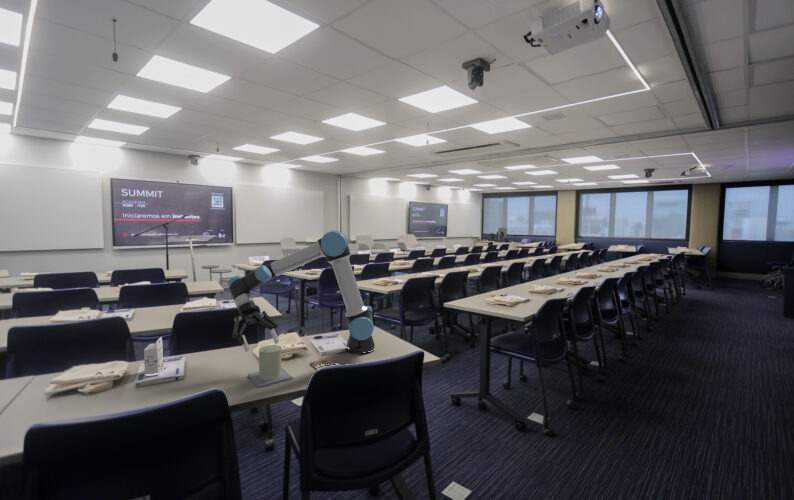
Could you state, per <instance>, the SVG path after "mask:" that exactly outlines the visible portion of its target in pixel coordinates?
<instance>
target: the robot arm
mask: <svg viewBox="0 0 794 500" xmlns="http://www.w3.org/2000/svg"><path fill="white" fill-rule="evenodd" d="M347 240H348V239H347V236H346V235H345V234H344V233H343V232H342V231H339V230H330V231H327V232H326V233H325V234H323V236H322V237H320V238H319V239H317V241H316V242H315V243H313V244H310V245H308V246H307V247H304V248H302V249H300V250H297V251H295V252H293V253H291V254H287V255H286V256H284V257H281V258H279V259H277V260H275V261H272V262H270V263H268V264H266V265H263V264H262V265H260V266H258V267H256V268H255V269H253V270H252V271H250V272H249V273H247V274H246V275H244V276H242V275H235V276H232V277H230V278H229V279H228V282H227V286H228V289H229V292H230V294H231V296H232V299H233V302H234V303H235V306H236V309H237V311H238V312H237V313H239V315H235V317H234V319H233V321H234V325H233V332H232V337H231V338H232V339H235V338H236V340H238V343H239V344H240V345H242V347H243V350H244V352H245V353H246V352H248V351H249V350H250V347H249V344H248V341H247V338H246V335H245V334H243V333H244V332H245V329H246V327H247V325H249V326H251V325H255V324H257V325H261V326H262V327H263V328H264V327H265V328H266V329H268V330H270V331H269V334H270V336H271V337H272V339H273V342H274V343H275V345H277V344H278V343H279V341H280V339H279V337H278V335H279V334H278V331H277V328H278V327H279V323H277V322H276V321H275V320H274V319H272V317H271V316H270V315H269V314H267V312H266V310H262V312H258V307H257V305H256V303H255V300H254V298H253V296H252V294H251V292H252V291H253V290H255V289H256V288H258V287H260V286H261V285H264V284H265V283H266V282H269V281H270V280H272V279H275V278H277V277H279V276H281V275H285V274H286V273H288V272H290V271H293V270H294V269H297V268H300V267H301V266H303V265H305V264H308V263H311V262H313V261H315V260H317V259H320V258H322V257H325V258H326V259H325V260H326V262H327V263H329V265H331V266H332V270H333V272H334V275H335V279H336V280H337V281H336V282H337V284H338V285H337V286H338V287H339V290H340V294H341V296H342V299H343V302H344V305H345V308H346V312H345V319H346V322H347V325H348V332H349V336H348V339H347V343H346V344H347V347H349V348H350V349H349V350H348V351H347V352H348V353H350V354H354V353H363V352H368V351H371V350H373V349H374V348H375V349H376V345H375V342H374V339H373V338H374V337H373V333H374V329H375V325H374V321H373V308H372V306H371V305H370V306H369V305H365V304H364V301H363V298H362V295H361V292H360V289H359V286H358V282H357V280H356V277H355V273H354V270H353V267H352V265H351V262H350V261H351V260H350V257H351V255H352V254H351V251H350V247H349V245H348V241H347ZM240 321H242V322H243V324H242V326H241V328H240V330H239V325H240ZM238 330H239V332H238Z"/></svg>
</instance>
